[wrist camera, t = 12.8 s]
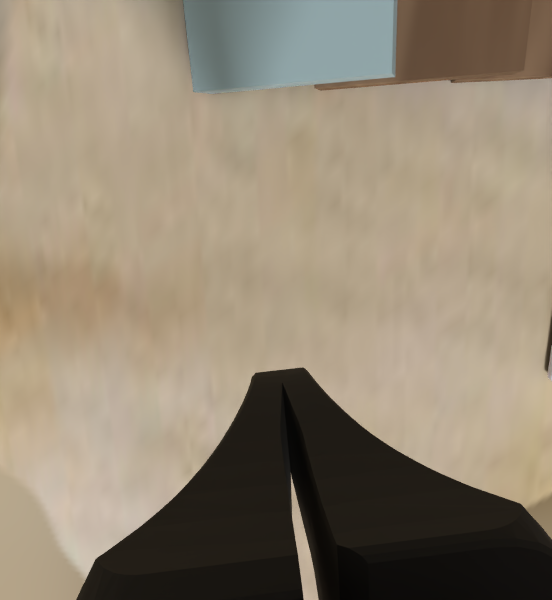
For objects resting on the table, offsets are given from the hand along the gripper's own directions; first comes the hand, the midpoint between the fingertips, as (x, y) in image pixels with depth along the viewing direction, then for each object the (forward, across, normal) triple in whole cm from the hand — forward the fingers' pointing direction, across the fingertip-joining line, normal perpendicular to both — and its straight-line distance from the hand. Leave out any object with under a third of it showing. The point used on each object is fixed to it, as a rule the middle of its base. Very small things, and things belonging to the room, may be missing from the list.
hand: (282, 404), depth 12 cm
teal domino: (+9, +2, -10) cm, 14 cm away
